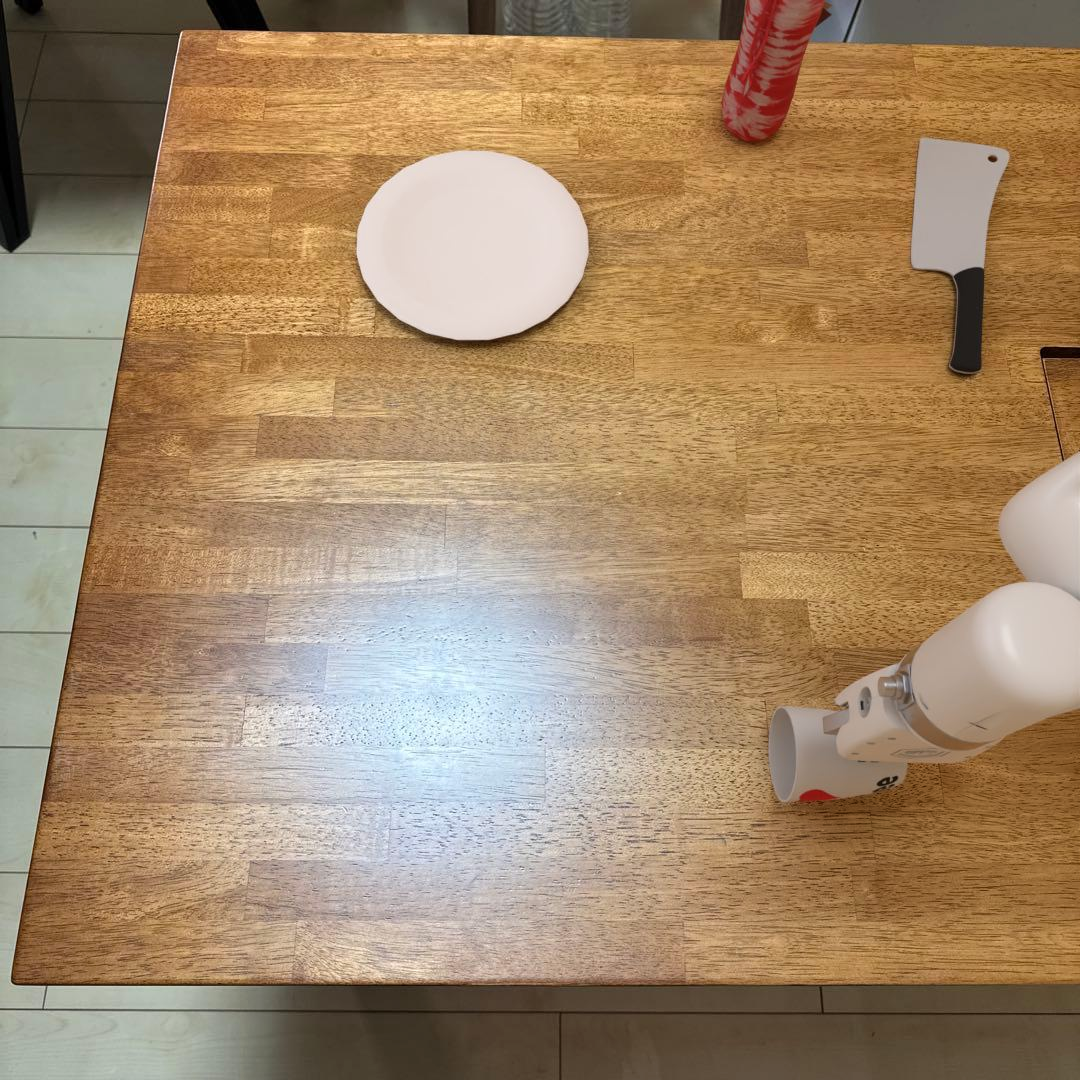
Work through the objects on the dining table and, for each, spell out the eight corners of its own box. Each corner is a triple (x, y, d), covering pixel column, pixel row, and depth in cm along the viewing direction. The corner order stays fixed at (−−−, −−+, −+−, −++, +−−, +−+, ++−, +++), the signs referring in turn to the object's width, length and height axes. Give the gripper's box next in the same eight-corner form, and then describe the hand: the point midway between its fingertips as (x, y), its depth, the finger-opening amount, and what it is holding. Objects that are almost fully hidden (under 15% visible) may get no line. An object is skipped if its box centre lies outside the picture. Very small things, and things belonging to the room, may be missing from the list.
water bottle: (758, 70, 122) (817, -137, 98) (813, 104, 120) (886, -98, 97) (697, 128, 118) (744, -73, 95) (753, 165, 116) (814, -31, 93)
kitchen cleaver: (921, 132, 118) (1012, 141, 116) (918, 143, 119) (1007, 152, 118) (896, 358, 106) (996, 372, 104) (892, 367, 108) (990, 381, 106)
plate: (369, 361, 105) (367, 352, 103) (347, 171, 114) (345, 160, 113) (607, 333, 107) (608, 324, 106) (567, 148, 116) (568, 137, 115)
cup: (876, 790, 92) (767, 789, 91) (877, 700, 92) (769, 699, 91) (914, 814, 84) (795, 813, 83) (916, 715, 84) (797, 713, 83)
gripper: (848, 745, 65) (777, 787, 82) (1079, 751, 66) (960, 792, 83) (838, 632, 68) (771, 695, 85) (1059, 639, 68) (948, 701, 85)
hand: (864, 743), depth 84 cm, fingers closed
